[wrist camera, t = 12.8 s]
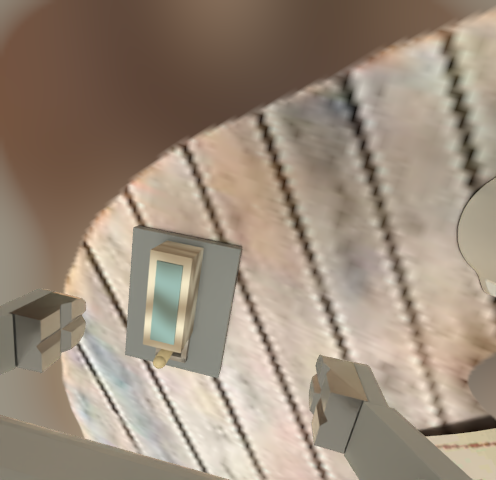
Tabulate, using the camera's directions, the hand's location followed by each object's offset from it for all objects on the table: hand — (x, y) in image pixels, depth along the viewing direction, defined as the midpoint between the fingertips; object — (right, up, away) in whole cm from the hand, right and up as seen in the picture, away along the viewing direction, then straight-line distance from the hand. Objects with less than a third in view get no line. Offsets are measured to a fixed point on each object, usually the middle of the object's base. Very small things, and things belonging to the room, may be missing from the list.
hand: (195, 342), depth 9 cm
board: (-9, -6, +33) cm, 35 cm away
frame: (-9, -6, +31) cm, 33 cm away
